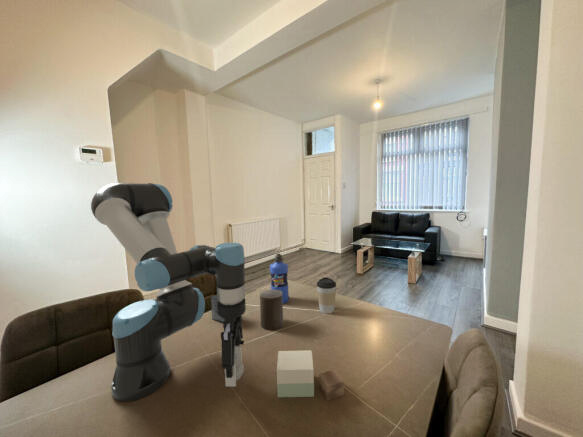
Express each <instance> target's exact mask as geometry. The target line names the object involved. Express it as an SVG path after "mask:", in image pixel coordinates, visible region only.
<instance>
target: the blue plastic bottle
mask: <svg viewBox="0 0 583 437" xmlns="http://www.w3.org/2000/svg"><path fill="white" fill-rule="evenodd" d="M274 257H275V258H274V262H273V263H271V264H270V265H269V273H270V277H271V281H270V290H279V291H281V292H282V297H283V305H284V303H285V304H287V303H288V302H289V301H288V300H290V299H289V298H290V297H289V296H290V295H289V281H288V274H289V273H288V271H289V264H287V263H285V262H284V261H283V254H281V253H276V254H275V256H274ZM286 302H287V303H286Z"/></svg>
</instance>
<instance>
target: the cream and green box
mask: <svg viewBox="0 0 583 437" xmlns="http://www.w3.org/2000/svg"><path fill="white" fill-rule="evenodd" d="M312 351H313V350H305V349H304V350H278V352H277V353H278V354H277V361H276V362H277V364H276V387H277V398H304V397H306V398H311V397H312V398H314V397H315V379H314V377H315V374H314V372H315V370H314V362H313V360H314V359H313V353H312Z"/></svg>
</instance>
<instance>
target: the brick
mask: <svg viewBox="0 0 583 437" xmlns="http://www.w3.org/2000/svg"><path fill="white" fill-rule="evenodd" d="M318 375H319V376H318V377H319V382H318V383H319V384H318V385H319V388H320V390H321V392H322V393H323V395H324V396H325V398H326V400H327V401H329V400H333V399H335V398H336V399H337V398H338V397H341V396H345V386H344V385H345V384H344V383H345V382H344V380H343V379H342V378H341V375H339V373H338V372H337V370H336V369H332V370H329V371H325V372H322V373H319V374H318Z"/></svg>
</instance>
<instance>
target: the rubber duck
mask: <svg viewBox="0 0 583 437" xmlns="http://www.w3.org/2000/svg"><path fill="white" fill-rule="evenodd" d="M234 362H235V366H236V381H238V380H240V379H241V378H242V376H243V374H244V372H245V366H244V365H245V364H244V363H240V360H239V356H238V355H237V354H236V355H234Z"/></svg>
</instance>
